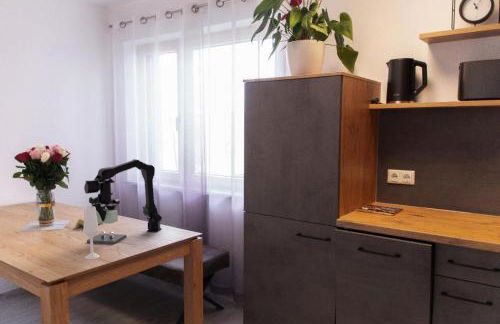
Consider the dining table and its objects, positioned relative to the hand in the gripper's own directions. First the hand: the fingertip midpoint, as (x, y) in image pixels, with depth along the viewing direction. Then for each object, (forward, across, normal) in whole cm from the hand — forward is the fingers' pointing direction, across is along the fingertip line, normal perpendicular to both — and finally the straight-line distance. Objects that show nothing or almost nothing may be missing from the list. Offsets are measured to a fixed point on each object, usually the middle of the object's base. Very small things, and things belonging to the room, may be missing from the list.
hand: (106, 219), depth 211 cm
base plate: (+11, 0, 0) cm, 11 cm away
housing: (+1, 0, 0) cm, 1 cm away
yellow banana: (+12, -28, -28) cm, 41 cm away
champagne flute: (+12, +26, +8) cm, 30 cm away
